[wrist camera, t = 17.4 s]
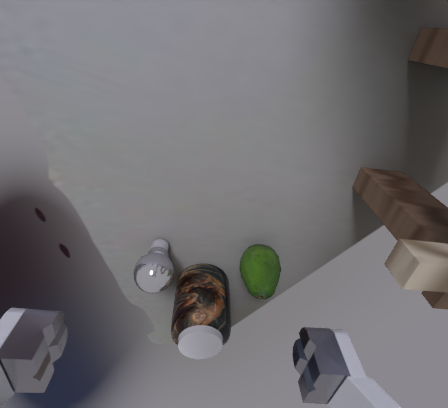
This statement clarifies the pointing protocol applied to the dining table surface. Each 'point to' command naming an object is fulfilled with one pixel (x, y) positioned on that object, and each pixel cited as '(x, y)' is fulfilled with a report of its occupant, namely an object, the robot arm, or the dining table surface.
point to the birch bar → (419, 265)
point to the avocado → (260, 270)
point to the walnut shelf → (406, 187)
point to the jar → (201, 311)
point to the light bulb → (154, 269)
